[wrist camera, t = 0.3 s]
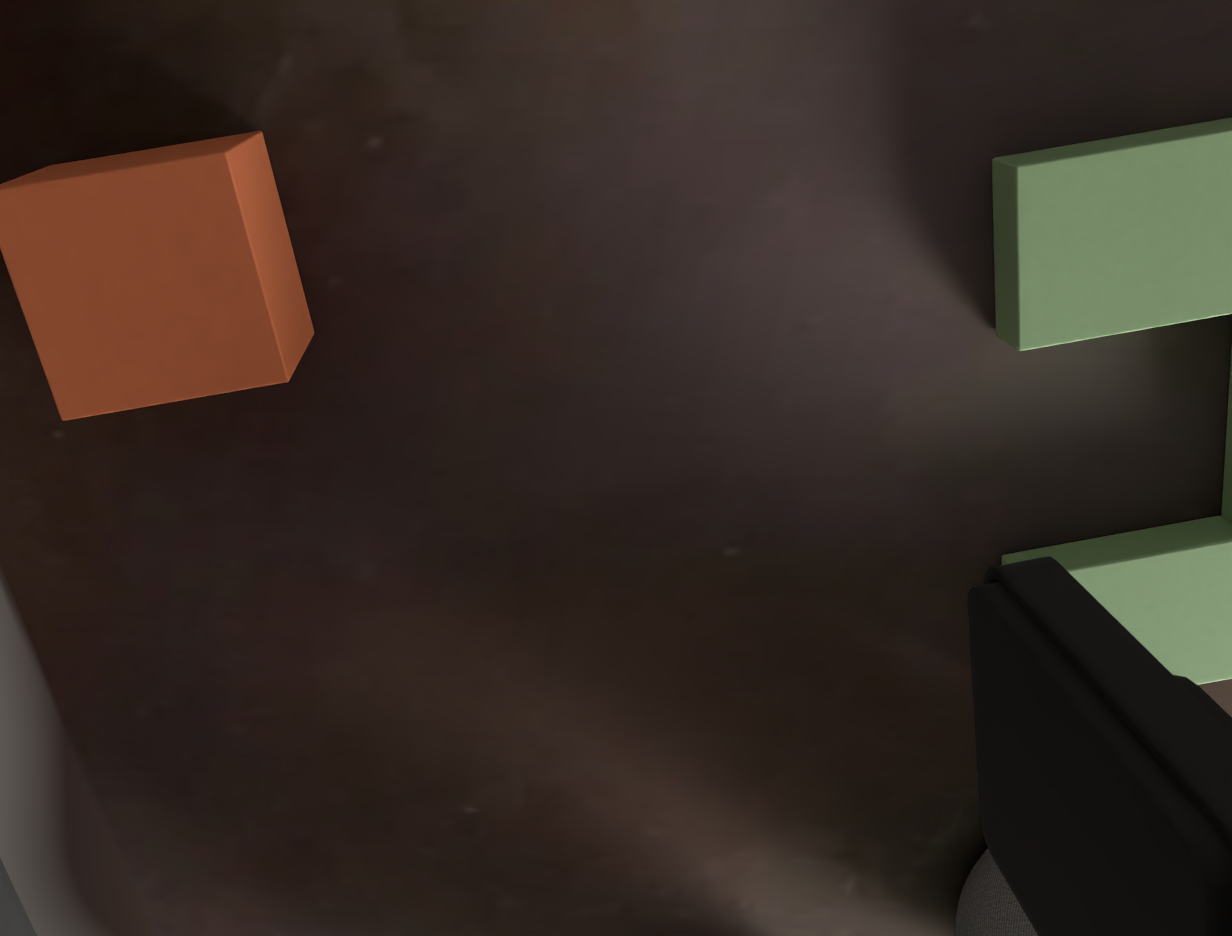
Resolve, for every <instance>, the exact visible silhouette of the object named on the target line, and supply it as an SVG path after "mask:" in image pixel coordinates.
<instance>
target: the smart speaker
mask: <svg viewBox="0 0 1232 936" xmlns="http://www.w3.org/2000/svg"><path fill="white" fill-rule="evenodd" d="M955 936H1038V935H1037V933H1036V931H1035V929H1034V928H1033V926H1032V924H1031V923H1030V921H1029V919H1028V918H1027V916H1026V914H1025V912H1024V911H1023V909H1022V907H1021V906H1020V904H1019V902H1018V900H1017V899H1016V897H1015V895H1014V894H1013V892H1012V890H1011V888H1010V887H1009V885H1008V883H1007V882H1006V880H1005V878H1004V877H1003V875H1002V873H1001V871H1000V870H999V868H998V866H997V865H996V863H995V861H994V859H993V857H992V855H991V854H990V851H989V849H987V850H986V851H985V852H984V853H983V855H982V856H981V857H980V858H979V860H978V861H977V863H976V864H975V866H974V867H973V869H972V870H971V872H970V874H969V876H968V878H967V880H966V882H965V884H964V887H963V889H962V892H961V895H960V899H959V903H958V909H957V914H956V921H955Z"/></svg>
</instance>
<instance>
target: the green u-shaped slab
mask: <svg viewBox="0 0 1232 936" xmlns="http://www.w3.org/2000/svg"><path fill="white" fill-rule="evenodd" d="M992 183H993V227H994V271H995V315H996V336H997V337H999V338H1000V339H1002V340H1003V341H1005V342H1006V343H1008V344H1009V345H1011V346H1012V347H1014V348H1015V349H1016V350H1018V351H1023V350H1029V349H1035V348H1040V347H1046V346H1052V345H1057V344H1063V343H1069V342H1074V341H1080V340H1086V339H1091V338H1097V337H1103V336H1108V335H1114V334H1120V333H1126V332H1131V331H1137V330H1143V329H1148V328H1154V327H1160V326H1165V325H1171V324H1177V323H1182V322H1188V321H1194V320H1199V319H1205V318H1211V317H1216V316H1222V315H1228V314H1232V117H1231V118H1226V119H1220V120H1214V121H1208V122H1202V123H1196V124H1190V125H1184V126H1179V127H1173V128H1167V129H1161V130H1155V131H1149V132H1143V133H1137V134H1132V135H1126V136H1120V137H1114V138H1108V139H1102V140H1096V141H1090V142H1085V143H1079V144H1073V145H1067V146H1061V147H1055V148H1049V149H1043V150H1038V151H1032V152H1026V153H1020V154H1014V155H1008V156H1002V157H996V158H993V159H992ZM1048 556H1051V557H1052V558H1054V559H1055V560H1056V561H1058V562H1059V563H1060V564H1061V565H1062V566H1063V567H1064V568H1065V569H1066V570H1067V571H1068V572H1069V573H1070V574H1071V575H1072V576H1073V577H1074V578H1075V579H1076V580H1077V581H1078V582H1079V583H1080V584H1081V585H1082V586H1083V587H1084V588H1085V589H1086V590H1087V591H1088V592H1089V593H1090V594H1091V595H1092V596H1093V597H1094V598H1095V599H1096V600H1097V601H1098V602H1099V603H1100V604H1101V605H1102V606H1103V607H1104V608H1105V609H1106V610H1107V611H1108V612H1109V613H1110V614H1111V615H1112V616H1114V617H1115V618H1116V619H1117V620H1118V621H1119V622H1120V623H1121V624H1122V625H1123V626H1124V627H1125V628H1126V629H1127V630H1128V631H1129V632H1130V633H1131V634H1132V635H1133V636H1134V637H1135V638H1136V639H1137V640H1138V641H1139V642H1140V643H1141V644H1142V645H1143V646H1144V647H1145V648H1146V649H1147V650H1148V651H1149V652H1150V653H1151V654H1152V655H1153V656H1154V657H1155V658H1156V659H1157V660H1158V661H1159V662H1160V663H1161V664H1162V665H1163V666H1164V667H1165V668H1166V669H1167V670H1168V671H1169V672H1170V673H1171V674H1172V675H1177V676H1183V677H1187V678H1188V679H1190V680H1191V681H1192V682H1194V683H1195V684H1197V685H1199V684H1204V683H1209V682H1215V681H1220V680H1225V679H1231V678H1232V346H1231V363H1230V379H1229V396H1228V413H1227V430H1226V446H1225V463H1224V480H1223V497H1222V514H1221V516H1214V517H1208V518H1203V519H1197V520H1192V521H1186V522H1181V523H1175V524H1170V525H1164V526H1159V527H1153V528H1148V529H1142V530H1137V531H1131V532H1126V533H1120V534H1115V535H1109V536H1104V537H1098V538H1093V539H1087V540H1082V541H1076V542H1071V543H1065V544H1060V545H1054V546H1049V547H1044V548H1038V549H1033V550H1027V551H1022V552H1016V553H1011V554H1005V555H1002V557H1001V563H1002V565H1005V564H1010V563H1015V562H1020V561H1025V560H1030V559H1035V558H1040V557H1048Z"/></svg>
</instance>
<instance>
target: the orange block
mask: <svg viewBox="0 0 1232 936" xmlns="http://www.w3.org/2000/svg"><path fill="white" fill-rule="evenodd" d="M0 249H1V252H2V255H3V258H4V260H5V263H6V266H7V269H8V272H9V274H10V277H11V280H12V283H13V286H14V288H15V291H16V294H17V297H18V299H19V302H20V305H21V308H22V311H23V313H24V316H25V319H26V322H27V324H28V327H29V330H30V333H31V336H32V338H33V341H34V344H35V347H36V349H37V352H38V355H39V358H40V361H41V363H42V366H43V369H44V372H45V375H46V377H47V380H48V383H49V386H50V388H51V391H52V394H53V397H54V400H55V402H56V405H57V408H58V411H59V413H60V416H61V419H62V420H64V421H65V420H71V419H77V418H82V417H88V416H94V415H100V414H106V413H111V412H117V411H123V410H129V409H134V408H140V407H146V406H152V405H157V404H163V403H169V402H175V401H181V400H186V399H192V398H198V397H204V396H209V395H215V394H221V393H227V392H233V391H238V390H244V389H250V388H256V387H261V386H267V385H273V384H279V383H284V382H288V381H289V380H290V378H291V376H292V374H293V372H294V370H295V369H296V367H297V365H298V363H299V361H300V359H301V357H302V355H303V354H304V352H305V350H306V348H307V346H308V344H309V342H310V341H311V339H312V337H313V335H314V329H313V325H312V321H311V318H310V314H309V310H308V306H307V302H306V298H305V295H304V291H303V287H302V283H301V279H300V275H299V271H298V268H297V264H296V260H295V256H294V252H293V248H292V245H291V241H290V237H289V233H288V229H287V225H286V222H285V218H284V214H283V210H282V206H281V202H280V199H279V195H278V191H277V187H276V183H275V179H274V175H273V172H272V168H271V164H270V160H269V156H268V152H267V149H266V145H265V141H264V137H263V133H262V132H261V131H255V132H249V133H243V134H237V135H231V136H225V137H219V138H213V139H207V140H201V141H195V142H189V143H183V144H177V145H171V146H165V147H159V148H153V149H147V150H141V151H135V152H129V153H123V154H117V155H111V156H105V157H99V158H92V159H86V160H80V161H74V162H68V163H62V164H56V165H50V166H48V167H45V168H42V169H40V170H37V171H34V172H32V173H29V174H26V175H24V176H21V177H18V178H16V179H13V180H10V181H8V182H5V183H2V184H0Z"/></svg>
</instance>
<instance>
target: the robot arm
mask: <svg viewBox="0 0 1232 936" xmlns="http://www.w3.org/2000/svg"><path fill="white" fill-rule="evenodd" d="M968 618H969V635H970V652H971V670H972V687H973V704H974V722H975V739H976V756H977V774H978V791H979V809H980V820H981V826H982V830H983V834H984V838H985V841H986V844H987V846H988V849H989V851H990V854H991V855H992V857H993V859H994V861H995V863H996V865H997V866H998V868H999V870H1000V871H1001V873H1002V875H1003V877H1004V878H1005V880H1006V882H1007V883H1008V885H1009V887H1010V888H1011V890H1012V892H1013V894H1014V895H1015V897H1016V899H1017V900H1018V902H1019V904H1020V906H1021V907H1022V909H1023V911H1024V912H1025V914H1026V916H1027V918H1028V919H1029V921H1030V923H1031V924H1032V926H1033V928H1034V929H1035V931H1036V933H1037V935H1038V936H1232V718H1231V717H1230V716H1229V715H1228V714H1227V713H1226V712H1225V711H1224V710H1223V709H1222V708H1221V707H1220V706H1219V705H1218V704H1217V703H1216V702H1215V701H1214V700H1213V699H1212V698H1211V697H1210V696H1209V695H1208V694H1207V693H1205V692H1204V691H1203V690H1202V689H1201V688H1200V687H1199V686H1198V685H1197V684H1195V683H1194V682H1192V681H1191V680H1190V679H1188V678H1187V677H1183V676H1177V675H1172V674H1171V673H1170V672H1169V671H1168V670H1167V669H1166V668H1165V667H1164V666H1163V665H1162V664H1161V663H1160V662H1159V661H1158V660H1157V659H1156V658H1155V657H1154V656H1153V655H1152V654H1151V653H1150V652H1149V651H1148V650H1147V649H1146V648H1145V647H1144V646H1143V645H1142V644H1141V643H1140V642H1139V641H1138V640H1137V639H1136V638H1135V637H1134V636H1133V635H1132V634H1131V633H1130V632H1129V631H1128V630H1127V629H1126V628H1125V627H1124V626H1123V625H1122V624H1121V623H1120V622H1119V621H1118V620H1117V619H1116V618H1115V617H1114V616H1112V615H1111V614H1110V613H1109V612H1108V611H1107V610H1106V609H1105V608H1104V607H1103V606H1102V605H1101V604H1100V603H1099V602H1098V601H1097V600H1096V599H1095V598H1094V597H1093V596H1092V595H1091V594H1090V593H1089V592H1088V591H1087V590H1086V589H1085V588H1084V587H1083V586H1082V585H1081V584H1080V583H1079V582H1078V581H1077V580H1076V579H1075V578H1074V577H1073V576H1072V575H1071V574H1070V573H1069V572H1068V571H1067V570H1066V569H1065V568H1064V567H1063V566H1062V565H1061V564H1060V563H1059V562H1058V561H1056V560H1055V559H1054V558H1052V557H1051V556H1048V557H1040V558H1035V559H1030V560H1025V561H1020V562H1015V563H1010V564H1005V565H1000V566H995V567H990V568H989V569H988V570H987V571H986V574H985V579H984V585H979V586H973V587H971V588H970V590H969V593H968ZM0 936H37V935H36V933H35V931H34V929H33V927H32V925H31V922H30V920H29V918H28V916H27V914H26V912H25V910H24V908H23V905H22V903H21V901H20V899H19V897H18V895H17V893H16V891H15V889H14V887H13V885H12V882H11V880H10V878H9V876H8V874H7V872H6V869H5V867H4V865H3V863H2V861H1V859H0Z"/></svg>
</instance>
